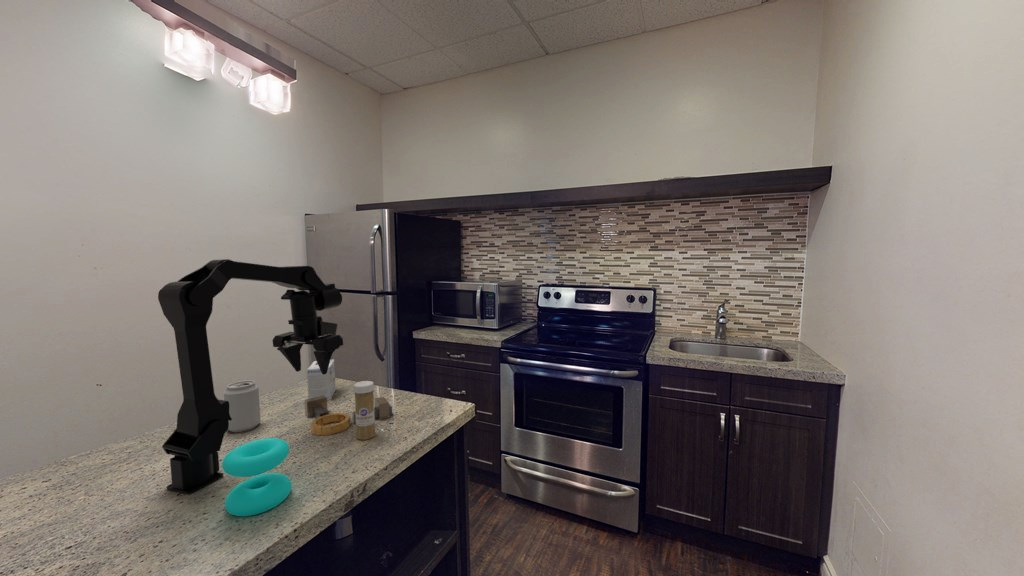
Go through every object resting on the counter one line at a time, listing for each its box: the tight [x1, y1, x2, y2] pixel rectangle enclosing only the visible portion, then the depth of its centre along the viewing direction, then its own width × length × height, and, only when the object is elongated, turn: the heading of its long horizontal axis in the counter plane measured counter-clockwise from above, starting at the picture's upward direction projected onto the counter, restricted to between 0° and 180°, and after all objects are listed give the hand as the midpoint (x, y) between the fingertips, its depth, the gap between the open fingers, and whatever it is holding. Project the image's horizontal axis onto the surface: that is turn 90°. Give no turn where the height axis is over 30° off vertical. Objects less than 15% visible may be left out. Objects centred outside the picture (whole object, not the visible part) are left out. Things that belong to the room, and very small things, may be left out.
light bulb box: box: [306, 359, 337, 401], centre depth 123 cm, size 11×7×11 cm, turn 17°
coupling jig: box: [304, 395, 393, 436], centre depth 103 cm, size 17×25×4 cm
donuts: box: [221, 437, 293, 517], centre depth 68 cm, size 10×10×10 cm
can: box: [223, 379, 262, 433], centre depth 100 cm, size 8×8×12 cm
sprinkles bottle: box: [353, 380, 376, 441], centre depth 93 cm, size 5×5×14 cm
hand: (311, 372), depth 99 cm, fingers open, 9 cm apart
